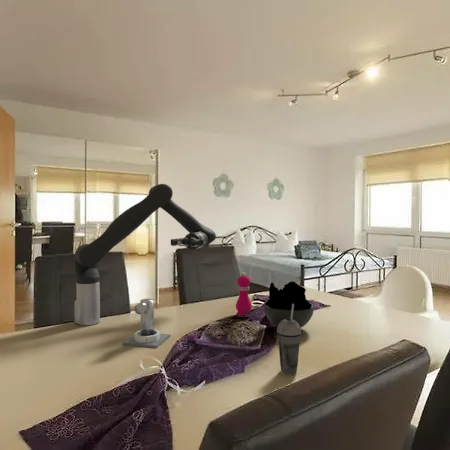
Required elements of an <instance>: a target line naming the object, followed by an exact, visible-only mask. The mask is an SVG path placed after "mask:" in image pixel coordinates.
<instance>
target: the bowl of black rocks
mask: <svg viewBox="0 0 450 450" xmlns="http://www.w3.org/2000/svg"><path fill="white" fill-rule="evenodd" d="M306 292H307V290H306V288H305V287H304V286H302V285H300V284H298V283H296V281H289V282H287V283H286V284H284V285H283V287H282V288H278V287H276V286H275V283H274V282H271V283H270V284H269V288H268V293H269V294H268V300H266V301H264V303H263V310H264V314H265V316H266V318H267V319H268V320H269V321H270V323H271V324H272V325H274V326H275V327H276V328H278V325H279V323H280V322H281V321H282V320H284V319H288V318H289V319H291V311H292V304H294V309H293V317H292V319H293V320H295V321H296V322H297V323H298V324H299V326H300V328H303V327H305V326H306V325H308V323H309V322H310V320H311V319H312V318H313V315H314V312H315V305H314V304H313V303H311V302H309V301H308V299H307V296H306Z"/></svg>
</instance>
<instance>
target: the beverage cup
mask: <svg viewBox="0 0 450 450" xmlns="http://www.w3.org/2000/svg"><path fill="white" fill-rule="evenodd" d="M293 309H294V304H292V311H291V319H289V318H288V319H284V320H282V321H281V322H280V323H279V325H278V327H276V336H277V340H278V353H279V363H280V364H279V365H280V372H281V373H282V374H283V375H287V376H294V375H296V374H297V371H298V363H299V356H300V355H299V352H300V343H301V339H302V334H303V333H302V330H301V328H302V327H301V328H300V326H299V324H298V323H297V322H296V321H295V320H293V319H292V317H293Z"/></svg>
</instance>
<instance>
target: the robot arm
mask: <svg viewBox="0 0 450 450" xmlns="http://www.w3.org/2000/svg"><path fill="white" fill-rule="evenodd" d="M172 198H173V188H172V187H171V185H169V184H167V183H159V184H157V185H153V186H152V187H151V188H150V189H149V191H148V195H147V196H146V197H144V198H143V199H142V200H141V201H139V202H137V203H136V204H134V205H133V206H131V207H129V208H128V209H126V210H124V211H123V212H121V213H120V215H118V216H117V217H116V218H115V219H114V220H112V221H111V223H110V224H109V225H108V226H107V228H106V229H105V231H103V233H102V234H101V235H100V236H99V237H97V238H95V240H93V241H91V242H90V243H84V244H81V245H79V246H78V247H77V248H76V250H75V253H74V271H75V272H74V275H75V281H76V285H75V286H76V300H74V324H75V323H77V325H78V324H79V325H78V326H93V325H96V323H97V324H99V323H100V322H101V299H100V298H101V293H100V291H101V288H100V276H101V275H100V273H99V268H98V264H99V263H100V262H101V261H102V259H104V258H105V257H106V256H107V254H108V253H109V252H110V251H111V250H112V249H113V248H114V247H116V246H117V245H118V244H120V243H121V242H122V241H123V240H125V239H126V238H127V237H128V236H130V235H131V234H132V233H133V232H134V231H136V230H137V229H138V228H139V227H140V226H141V225H142V224H143V223H144V222H145V221H146V220H147V219H148V218H149V217H150V216H151V215H152V214H153V213H154V212H157V210H159V209H161V210H163V211H164V212H166V213H167V214H168V215H169V216H171V217H172V218H173V219H174V221H175V220H176V222H178V223H179V224H180V225H181V226H182V227H183V228H184V229H185V231H187V232H188V233H187V234H186V235H185V236H184V237H180V238H172V239H170V246H172V247H176V246H178V247H185V248H186V249H188V250H189V251H193V250H194V251H195V250H197V249H203V250H204V249H205V248H207V247H208V246H209V245H210V244H212V243H213V242H214V241H215V240H216V239H217V235H216V233H215V231H214V230H212V229H211V228H210V227H207V226H205V225H204V224H202V223H201V222H199V220H198V219H196V217H194V216H193V215H192V214H191V213H190V212H189V211H187V210H186V209H184V208H182V207H181V206H180V205H178V204H177V203H176V202H175V201H174V200H172Z"/></svg>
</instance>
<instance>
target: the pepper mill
mask: <svg viewBox="0 0 450 450" xmlns="http://www.w3.org/2000/svg"><path fill="white" fill-rule="evenodd" d="M236 280H237V281H236V282H237V285H238V286H237V287H238V293H239V295H238V298H237V300H236V303H235V308H236V316H237V315H244V314H246V313H248V312H251V310H252V307H253V306H252V302H251V299H250V297H249V291H250V284H251V278H250V277H249V276H247V274H246V272H245V271H243V272H242V273H241V275H240V276H239V277H238V278H237V279H236Z"/></svg>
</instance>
